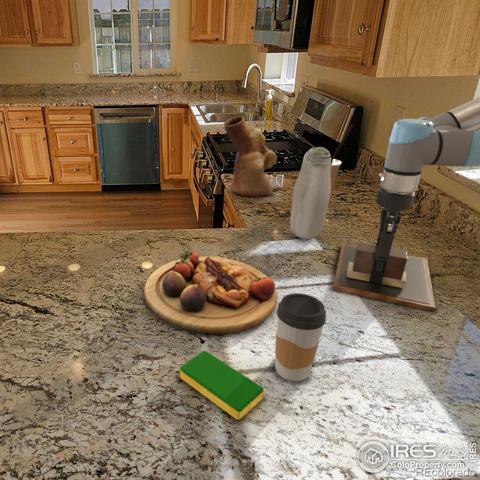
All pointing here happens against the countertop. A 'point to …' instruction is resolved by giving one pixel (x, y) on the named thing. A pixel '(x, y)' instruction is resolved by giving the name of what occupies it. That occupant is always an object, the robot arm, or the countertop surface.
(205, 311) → the wooden plate
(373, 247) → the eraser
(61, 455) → the countertop surface
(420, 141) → the robot arm
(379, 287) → the chalkboard
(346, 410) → the countertop surface
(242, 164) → the ceramic vessel
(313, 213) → the glass bottle
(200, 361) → the dish sponge
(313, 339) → the coffee cup
